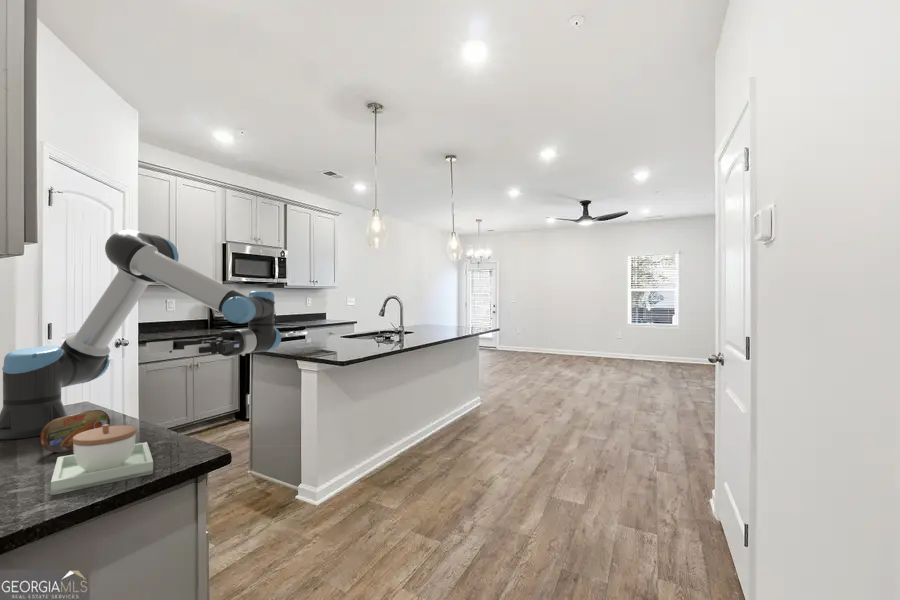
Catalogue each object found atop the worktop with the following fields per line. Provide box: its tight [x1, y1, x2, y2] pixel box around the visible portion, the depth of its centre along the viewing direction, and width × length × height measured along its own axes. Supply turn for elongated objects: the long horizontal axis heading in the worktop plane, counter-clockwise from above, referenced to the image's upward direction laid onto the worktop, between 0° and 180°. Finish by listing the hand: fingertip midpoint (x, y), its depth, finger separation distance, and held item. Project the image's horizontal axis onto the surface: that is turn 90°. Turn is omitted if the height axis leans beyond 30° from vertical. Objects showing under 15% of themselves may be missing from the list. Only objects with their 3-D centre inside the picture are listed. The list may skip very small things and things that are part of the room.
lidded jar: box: [72, 424, 137, 473], centre depth 90 cm, size 11×11×9 cm
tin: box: [39, 409, 111, 453], centre depth 106 cm, size 15×3×8 cm, turn 168°
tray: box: [50, 441, 154, 496], centre depth 90 cm, size 16×16×3 cm
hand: (165, 349), depth 104 cm, fingers open, 13 cm apart
